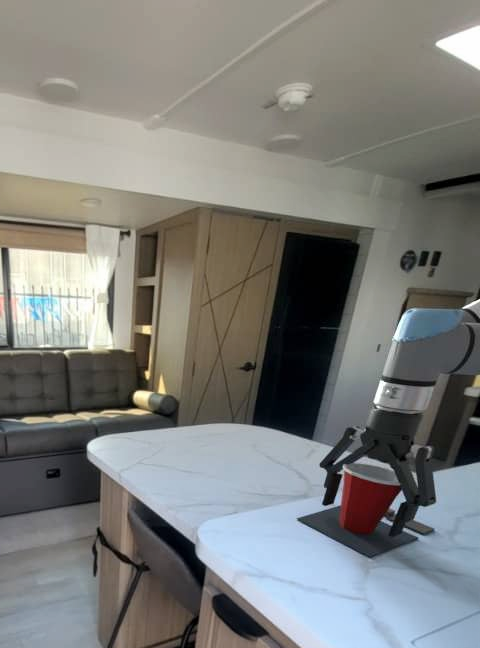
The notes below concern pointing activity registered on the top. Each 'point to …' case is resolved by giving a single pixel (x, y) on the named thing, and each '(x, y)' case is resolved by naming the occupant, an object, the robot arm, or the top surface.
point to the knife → (410, 523)
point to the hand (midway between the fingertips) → (358, 518)
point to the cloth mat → (361, 543)
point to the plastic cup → (366, 496)
